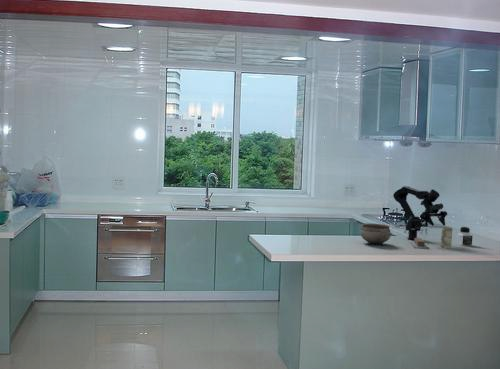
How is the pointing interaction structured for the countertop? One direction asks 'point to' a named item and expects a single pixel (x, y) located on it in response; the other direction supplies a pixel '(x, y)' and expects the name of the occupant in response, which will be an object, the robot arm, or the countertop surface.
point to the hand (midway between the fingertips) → (439, 225)
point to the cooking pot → (375, 233)
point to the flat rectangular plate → (419, 243)
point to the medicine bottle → (464, 237)
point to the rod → (446, 237)
